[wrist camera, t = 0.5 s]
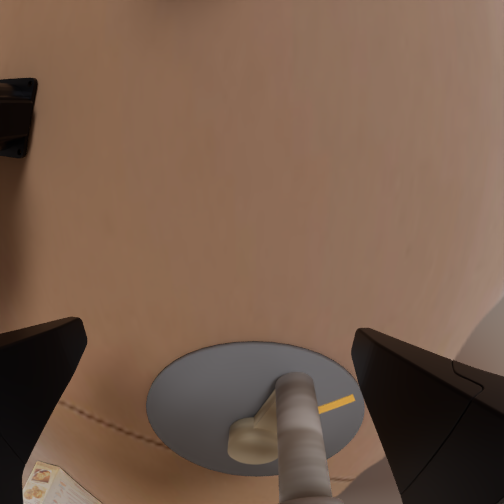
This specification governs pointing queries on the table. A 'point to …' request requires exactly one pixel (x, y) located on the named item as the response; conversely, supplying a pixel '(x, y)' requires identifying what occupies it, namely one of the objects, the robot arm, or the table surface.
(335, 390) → the dial plate
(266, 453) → the crank handle
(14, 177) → the table surface
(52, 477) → the coffeecake box
